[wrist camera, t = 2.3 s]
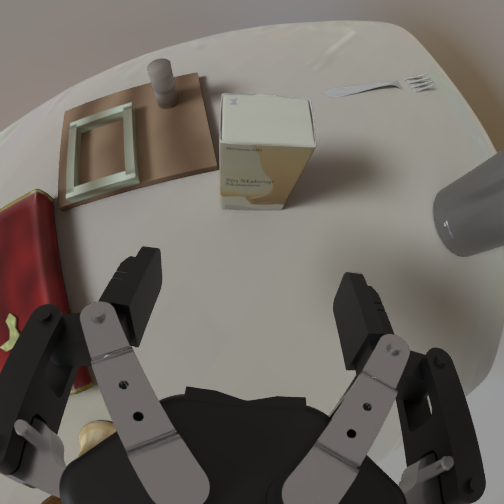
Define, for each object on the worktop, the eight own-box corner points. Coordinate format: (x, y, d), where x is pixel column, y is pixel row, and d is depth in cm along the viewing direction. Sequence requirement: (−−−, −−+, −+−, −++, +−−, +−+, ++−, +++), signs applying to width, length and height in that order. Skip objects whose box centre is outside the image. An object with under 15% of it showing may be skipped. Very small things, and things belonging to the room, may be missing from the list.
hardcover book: (56, 199, 28) (37, 186, 24) (96, 384, 25) (77, 393, 21) (-9, 233, 27) (-28, 225, 22) (23, 396, 23) (2, 403, 19)
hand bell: (100, 484, 22) (38, 559, 6) (68, 424, 23) (-22, 478, 7) (161, 479, 23) (119, 578, 7) (128, 415, 24) (47, 492, 8)
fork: (297, 91, 33) (300, 82, 31) (421, 77, 36) (426, 71, 34) (309, 109, 32) (312, 101, 30) (432, 92, 35) (437, 86, 34)
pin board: (198, 77, 32) (193, 37, 25) (217, 169, 29) (214, 132, 22) (67, 115, 30) (45, 84, 23) (62, 211, 27) (28, 188, 21)
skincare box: (220, 210, 29) (213, 144, 17) (221, 170, 29) (216, 91, 17) (285, 211, 29) (319, 147, 17) (283, 171, 30) (311, 96, 18)
